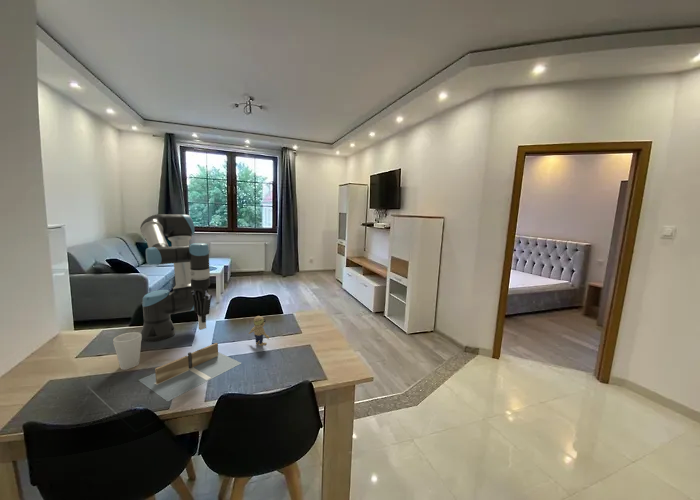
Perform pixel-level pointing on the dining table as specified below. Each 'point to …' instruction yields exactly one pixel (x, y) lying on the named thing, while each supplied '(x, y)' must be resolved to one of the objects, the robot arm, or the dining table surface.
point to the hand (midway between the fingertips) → (202, 328)
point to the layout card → (190, 377)
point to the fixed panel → (171, 369)
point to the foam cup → (128, 349)
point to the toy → (259, 330)
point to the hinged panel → (202, 355)
